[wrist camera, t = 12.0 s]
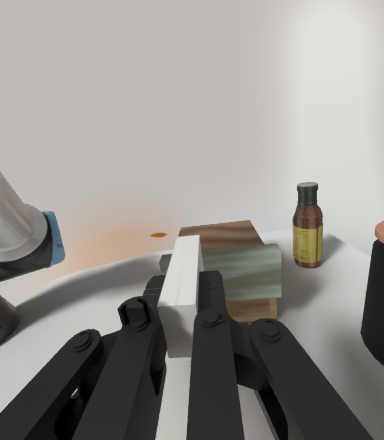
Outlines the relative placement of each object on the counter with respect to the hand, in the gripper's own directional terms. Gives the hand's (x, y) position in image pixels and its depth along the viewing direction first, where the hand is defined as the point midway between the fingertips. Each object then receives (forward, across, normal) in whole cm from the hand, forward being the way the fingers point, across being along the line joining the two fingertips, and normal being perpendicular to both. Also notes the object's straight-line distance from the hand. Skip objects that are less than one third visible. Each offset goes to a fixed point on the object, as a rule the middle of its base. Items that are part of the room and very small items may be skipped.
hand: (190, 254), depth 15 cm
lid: (+27, +2, -17) cm, 32 cm away
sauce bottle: (+35, +24, -24) cm, 49 cm away
